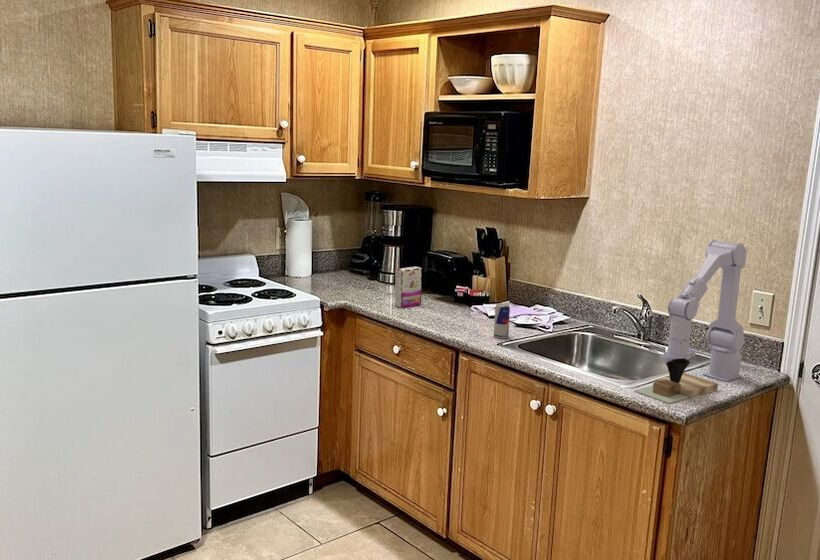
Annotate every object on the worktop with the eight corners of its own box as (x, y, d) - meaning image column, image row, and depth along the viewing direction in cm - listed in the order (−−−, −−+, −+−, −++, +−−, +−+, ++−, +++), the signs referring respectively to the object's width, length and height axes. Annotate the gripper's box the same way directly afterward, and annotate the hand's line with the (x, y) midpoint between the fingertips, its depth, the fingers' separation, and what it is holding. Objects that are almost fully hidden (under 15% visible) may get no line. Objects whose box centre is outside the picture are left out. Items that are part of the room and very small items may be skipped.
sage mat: (653, 386, 225) (653, 385, 225) (688, 398, 215) (688, 397, 215) (634, 391, 219) (634, 390, 219) (669, 404, 210) (669, 402, 210)
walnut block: (664, 388, 222) (665, 379, 221) (679, 393, 218) (680, 383, 217) (652, 392, 218) (653, 382, 217) (667, 397, 214) (668, 387, 214)
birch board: (682, 378, 233) (683, 372, 233) (717, 389, 223) (717, 383, 223) (654, 386, 225) (654, 379, 224) (689, 398, 215) (690, 391, 215)
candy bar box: (413, 303, 326) (415, 266, 323) (421, 305, 322) (422, 267, 319) (393, 306, 319) (394, 268, 316) (401, 308, 315) (402, 270, 312)
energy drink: (506, 339, 271) (508, 307, 269) (491, 337, 273) (493, 305, 271) (509, 336, 276) (511, 304, 274) (495, 334, 278) (497, 303, 276)
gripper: (676, 345, 210) (671, 390, 213) (706, 338, 219) (701, 382, 221) (655, 339, 216) (650, 383, 218) (685, 332, 224) (680, 376, 227)
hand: (674, 382), depth 220 cm, fingers closed
